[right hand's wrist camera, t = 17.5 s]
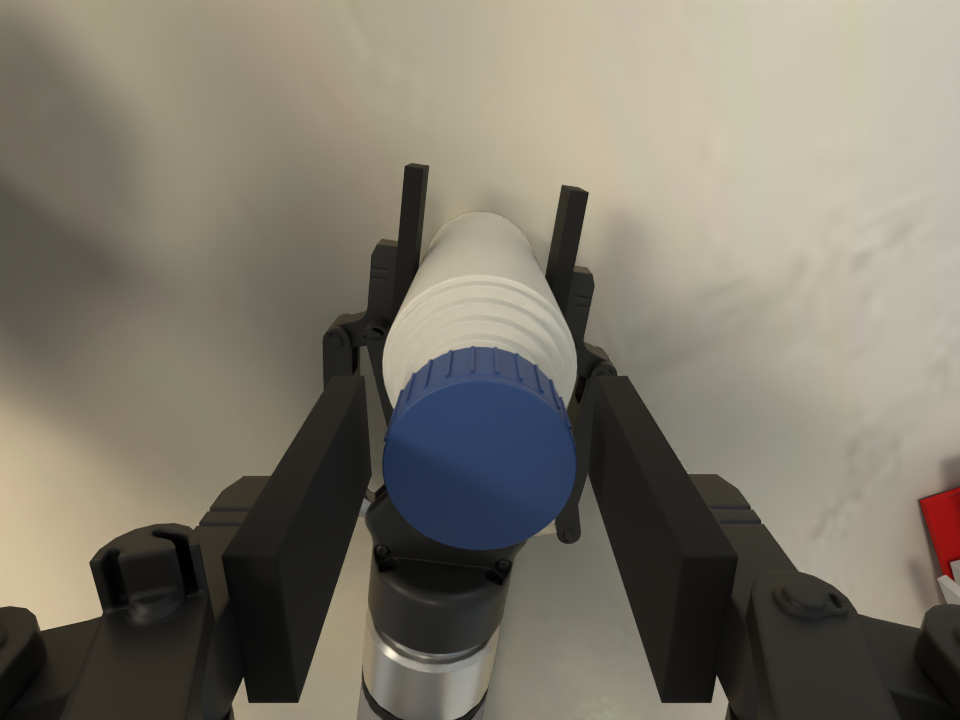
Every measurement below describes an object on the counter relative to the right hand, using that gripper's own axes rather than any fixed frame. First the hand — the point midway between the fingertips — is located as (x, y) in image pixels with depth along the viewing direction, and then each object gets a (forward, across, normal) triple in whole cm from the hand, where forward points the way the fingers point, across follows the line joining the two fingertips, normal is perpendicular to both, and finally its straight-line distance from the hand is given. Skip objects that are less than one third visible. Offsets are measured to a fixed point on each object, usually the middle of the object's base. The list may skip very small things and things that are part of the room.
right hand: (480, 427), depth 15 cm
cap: (-2, 0, 0) cm, 2 cm away
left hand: (+13, +1, +5) cm, 14 cm away
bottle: (+20, 0, 0) cm, 20 cm away
